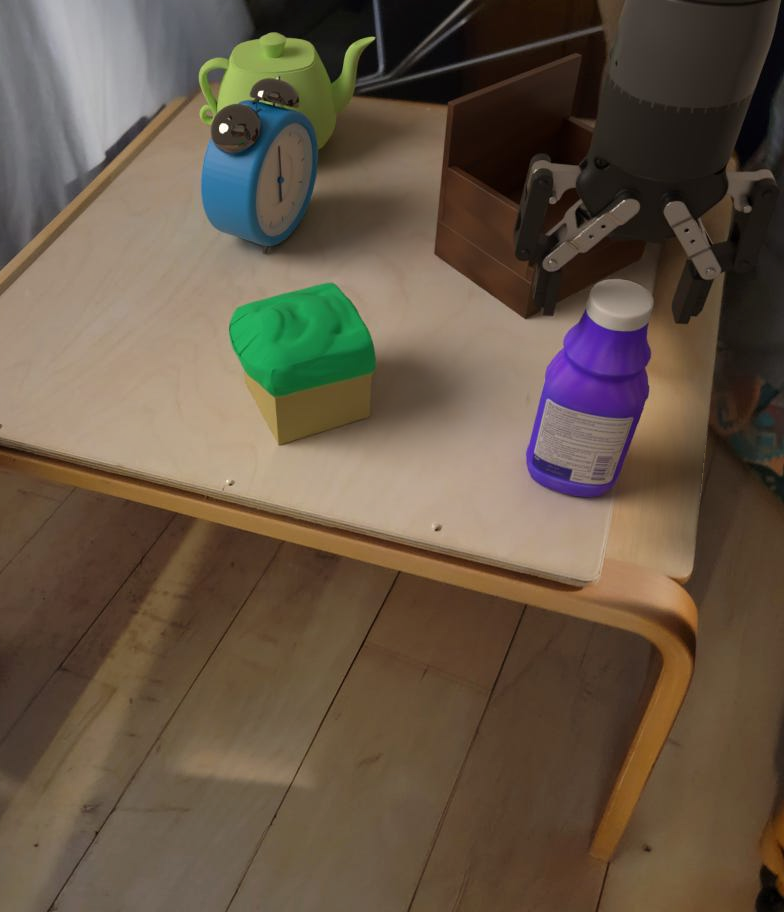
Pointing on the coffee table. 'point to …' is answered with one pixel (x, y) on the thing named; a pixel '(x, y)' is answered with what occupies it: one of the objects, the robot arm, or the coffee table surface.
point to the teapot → (285, 78)
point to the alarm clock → (260, 166)
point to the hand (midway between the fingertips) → (612, 312)
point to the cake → (305, 360)
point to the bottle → (593, 393)
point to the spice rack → (515, 183)
